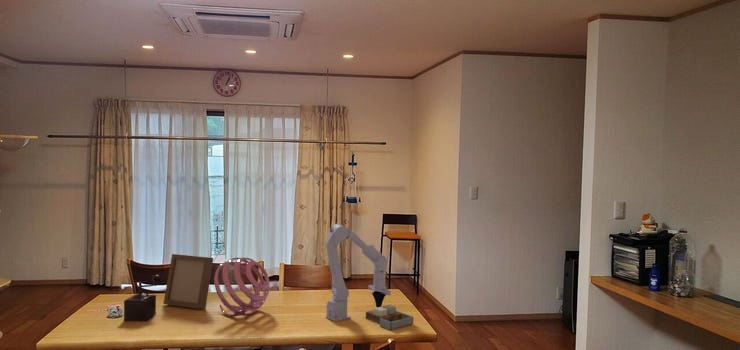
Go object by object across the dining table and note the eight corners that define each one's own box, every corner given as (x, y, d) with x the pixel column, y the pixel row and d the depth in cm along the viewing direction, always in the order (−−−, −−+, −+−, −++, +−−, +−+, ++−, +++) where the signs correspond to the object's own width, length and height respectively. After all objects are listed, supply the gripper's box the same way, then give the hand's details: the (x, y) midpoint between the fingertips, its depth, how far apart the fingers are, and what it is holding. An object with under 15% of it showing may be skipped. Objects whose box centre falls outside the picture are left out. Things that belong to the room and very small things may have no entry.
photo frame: (199, 310, 233) (200, 259, 233) (163, 305, 240) (164, 255, 240) (218, 302, 247) (219, 254, 247) (183, 298, 254) (184, 251, 254)
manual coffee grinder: (147, 321, 217) (148, 282, 216) (123, 321, 217) (123, 281, 216) (162, 311, 232) (162, 273, 232) (139, 310, 232) (139, 273, 232)
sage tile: (388, 314, 225) (389, 308, 225) (382, 311, 229) (382, 306, 229) (396, 312, 228) (396, 307, 228) (389, 310, 232) (389, 304, 232)
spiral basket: (190, 272, 229) (231, 244, 221) (231, 275, 253) (270, 249, 246) (205, 328, 217) (249, 300, 210) (247, 325, 241) (288, 300, 234)
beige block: (380, 316, 222) (380, 310, 222) (373, 313, 225) (373, 308, 225) (387, 314, 225) (387, 309, 225) (380, 312, 228) (381, 306, 228)
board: (382, 325, 219) (382, 318, 219) (365, 318, 228) (365, 311, 228) (403, 319, 227) (403, 313, 227) (386, 313, 237) (386, 307, 236)
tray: (390, 330, 212) (390, 322, 212) (379, 326, 217) (379, 318, 217) (413, 324, 221) (413, 316, 221) (402, 320, 226) (402, 312, 226)
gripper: (395, 281, 231) (395, 309, 231) (375, 275, 242) (375, 301, 242) (384, 283, 226) (384, 311, 227) (365, 277, 237) (364, 304, 238)
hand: (378, 306), depth 234 cm, fingers closed
